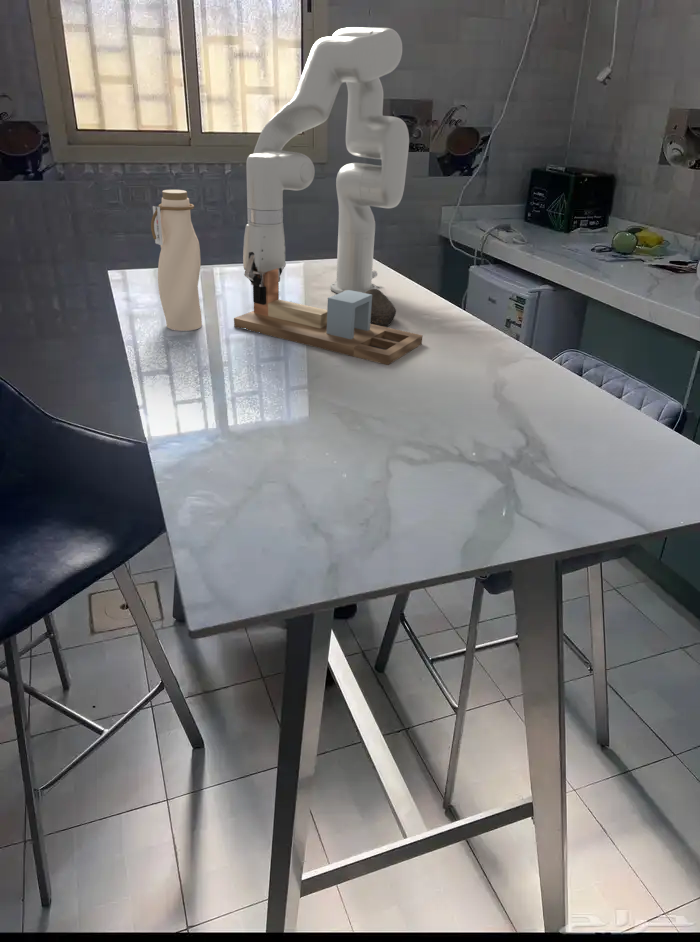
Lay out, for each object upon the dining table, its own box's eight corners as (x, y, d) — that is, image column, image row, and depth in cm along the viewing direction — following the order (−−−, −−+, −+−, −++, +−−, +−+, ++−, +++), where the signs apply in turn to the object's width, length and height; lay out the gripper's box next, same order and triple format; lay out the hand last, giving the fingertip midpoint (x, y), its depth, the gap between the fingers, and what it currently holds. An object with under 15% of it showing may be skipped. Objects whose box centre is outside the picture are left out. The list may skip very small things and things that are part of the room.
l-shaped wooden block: (264, 308, 160) (263, 265, 155) (329, 323, 152) (331, 278, 147) (253, 312, 157) (253, 268, 152) (320, 328, 149) (321, 282, 144)
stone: (397, 337, 165) (391, 300, 168) (399, 320, 157) (393, 281, 159) (357, 342, 165) (351, 305, 167) (356, 325, 156) (351, 287, 159)
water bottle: (177, 336, 146) (166, 196, 132) (150, 326, 151) (137, 190, 137) (213, 326, 153) (206, 192, 140) (186, 317, 158) (177, 187, 144)
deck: (275, 310, 166) (275, 302, 165) (421, 344, 150) (422, 335, 149) (234, 326, 154) (233, 318, 153) (388, 365, 137) (388, 355, 136)
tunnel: (346, 324, 153) (348, 289, 149) (369, 329, 150) (372, 294, 146) (326, 333, 146) (327, 297, 143) (350, 339, 144) (352, 303, 140)
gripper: (273, 210, 155) (274, 291, 164) (226, 219, 142) (229, 306, 151) (301, 214, 152) (300, 296, 161) (255, 224, 139) (257, 312, 148)
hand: (266, 300), depth 156 cm, fingers closed on l-shaped wooden block, 4 cm apart
